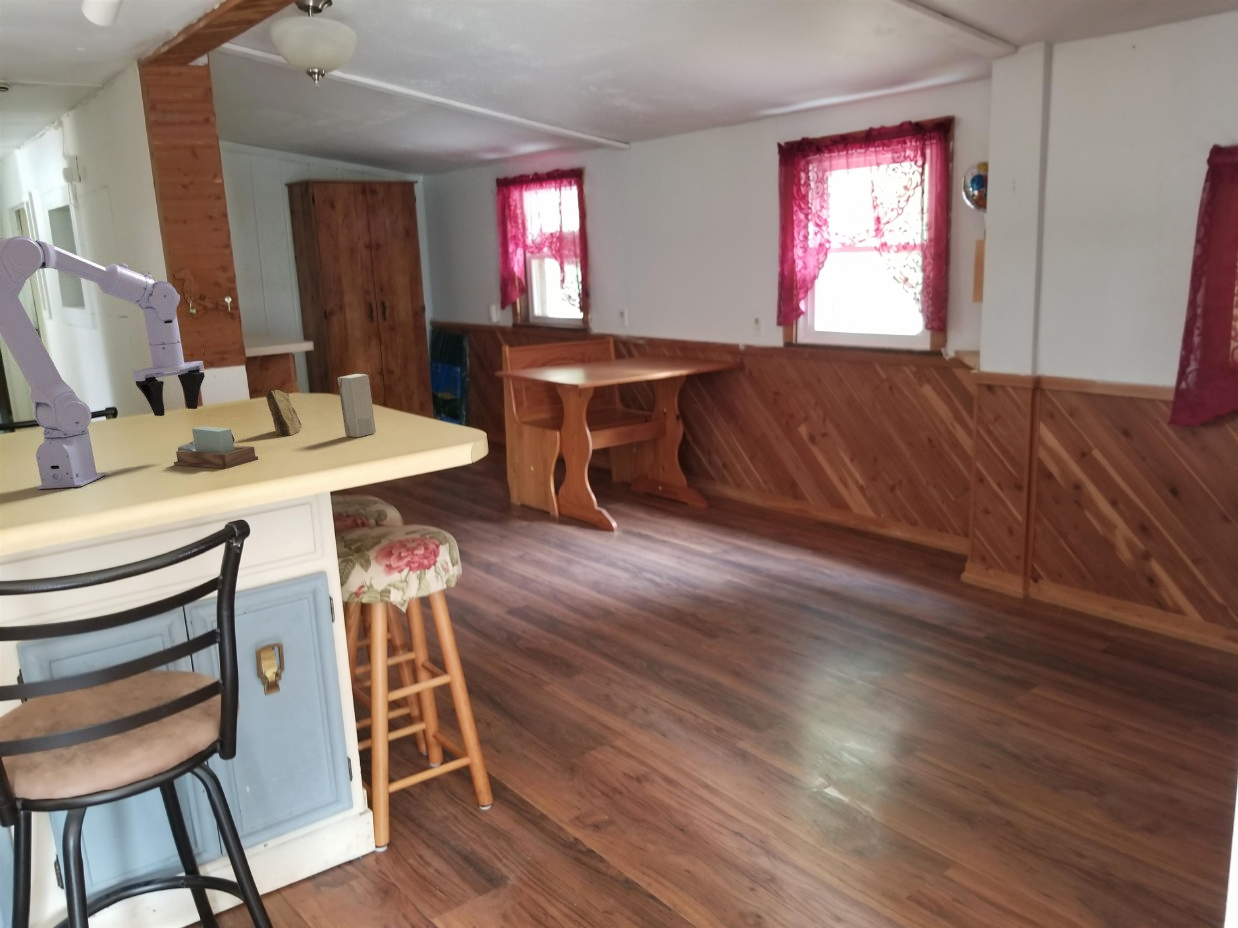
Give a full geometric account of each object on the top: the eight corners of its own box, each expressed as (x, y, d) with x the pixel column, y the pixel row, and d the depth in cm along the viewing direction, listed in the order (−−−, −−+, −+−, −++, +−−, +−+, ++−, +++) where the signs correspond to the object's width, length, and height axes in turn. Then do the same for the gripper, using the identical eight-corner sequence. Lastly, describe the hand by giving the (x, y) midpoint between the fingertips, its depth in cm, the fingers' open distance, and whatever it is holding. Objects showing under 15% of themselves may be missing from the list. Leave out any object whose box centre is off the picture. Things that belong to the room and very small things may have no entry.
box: (364, 431, 209) (357, 373, 206) (376, 433, 206) (369, 374, 203) (343, 436, 205) (336, 376, 202) (356, 438, 202) (348, 377, 199)
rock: (285, 416, 222) (252, 418, 213) (301, 386, 219) (267, 387, 210) (314, 445, 219) (281, 449, 210) (331, 416, 216) (298, 418, 207)
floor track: (258, 459, 186) (256, 446, 186) (225, 468, 180) (223, 455, 179) (207, 456, 193) (205, 443, 192) (174, 465, 186) (172, 452, 185)
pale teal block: (196, 458, 187) (191, 428, 186) (208, 455, 190) (204, 426, 188) (223, 462, 182) (218, 431, 181) (235, 459, 184) (231, 429, 183)
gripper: (182, 339, 195) (193, 405, 198) (117, 348, 182) (130, 418, 185) (206, 339, 192) (217, 406, 195) (142, 348, 179) (154, 419, 182)
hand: (176, 412), depth 190 cm, fingers open, 7 cm apart
